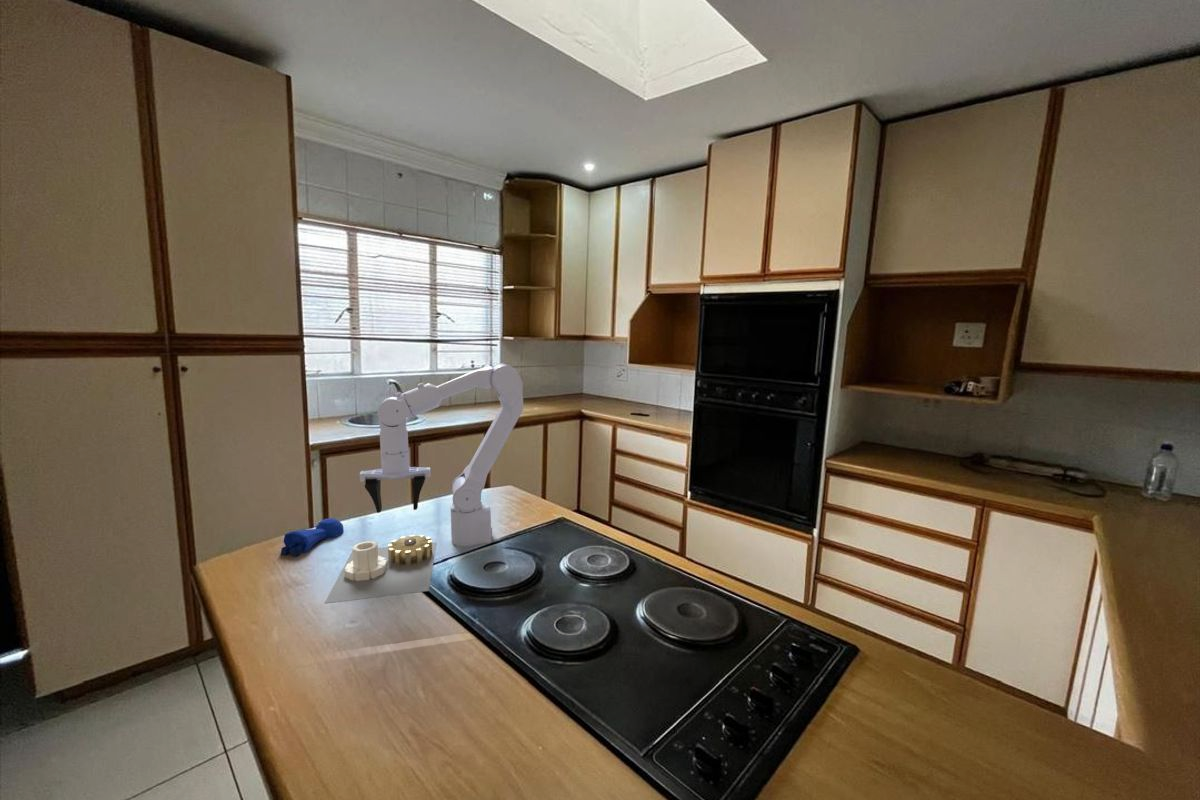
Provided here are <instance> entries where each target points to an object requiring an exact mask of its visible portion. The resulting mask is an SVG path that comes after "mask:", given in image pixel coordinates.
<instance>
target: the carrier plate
mask: <svg viewBox="0 0 1200 800" xmlns="http://www.w3.org/2000/svg"><path fill="white" fill-rule="evenodd" d="M436 548H437V542H432V555H430V558H429V559H428V560H425V559H424V560H422V563H419V564H417V563H412V564H411V565H409V566H406V564H401V565H400V566H398V565H395V562H394V563H390V562H389V558H388V546H386V547H385V546H382V547H378V556H381V557H384V558H386V560H387V569H386V572H384V574H381V575H379V576H377V577H375V578H373V579H372V578H370V579H369V580H361V581H356V580H353V581H352V580H350V579H348V578H346V577H345V571H344V569H345V567H346V565H347V564H348V563H350V562H351V561H353V550H352V551H351V553H350V555H349V556H348V559H347V560H346V562H345V564H344V566H343V568H342V569H341V571H340V573H339V576H337V579H336V581H335V582H334V584H333V587H332V588H331V590H330V592H329V594H328V596H327V598H326V600H325V602H324V604H330V603H339V602H340V603H341V602H346V601H348V602H349V601H356V600H362V599H363V600H365V599H371V598H380V597H388V596H389V597H390V596H398V595H405V594H406V595H407V594H414V593H422V592H424V593H425V592H429V591H430V586H431V585H430V584H431V579H432V573H433V567H434V561H435V555H436Z"/></svg>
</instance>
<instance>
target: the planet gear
mask: <svg viewBox="0 0 1200 800" xmlns="http://www.w3.org/2000/svg"><path fill="white" fill-rule="evenodd" d="M378 548H379V546H378V542H375V541H373V540H369V541H362V542H359V543H356V544H354V545H353V547H352V551H353V561H351V562H350V563H348V564H347V565H346V567H345V569H344V571H345V577H346V578H348V579H350V580H352V581H353V580H356V581H361V580H369V579H370V578H372V579H373V578H375V577H377V576H379V575H381V574H384V572H386V569H387V560H386V558H384V557H381V556H378Z"/></svg>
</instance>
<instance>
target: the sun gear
mask: <svg viewBox="0 0 1200 800" xmlns="http://www.w3.org/2000/svg"><path fill="white" fill-rule="evenodd" d="M432 543H433V540H432V538H431V537H430V536H426V535H424V534H420V535H416V534H410V535H409V536H404V535H403V536H401V537H399V538H398V539H393V540H391V543H390V544H389V543H388V545H387V547H388V558H389V562H390V563H394V562H395V565H398V566H400V565H401V564H406V566H409V565H411V564H412V563H417V564H419V563H422V560H424V559H425V560H428V559H429V558H430V555H432Z"/></svg>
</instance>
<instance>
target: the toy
mask: <svg viewBox="0 0 1200 800" xmlns="http://www.w3.org/2000/svg"><path fill="white" fill-rule="evenodd" d="M343 533H344V525H343V523H342V522H341V521H340V520H338V519H335V518H331V517H330V518H325V519H322V520H320V522H318V523H317V524H316V526H315V528H312V529H299V530H295V531H289V532H287V533H285V534H284V537H283V544H284V546H282V547H281V550H280V556H287V555H289V554H290V556H291V557H294V558H298V557H299V556H300V551H301V554H303V553H304V554H305V553H307V552H308V551H309V550H310V549H311V548H312V547H313V546H314V545H315V544H316V543H318V542H320V541H321V540H323V539H327V540H328V539H333V538H337V537H339V536H342V535H343Z"/></svg>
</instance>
